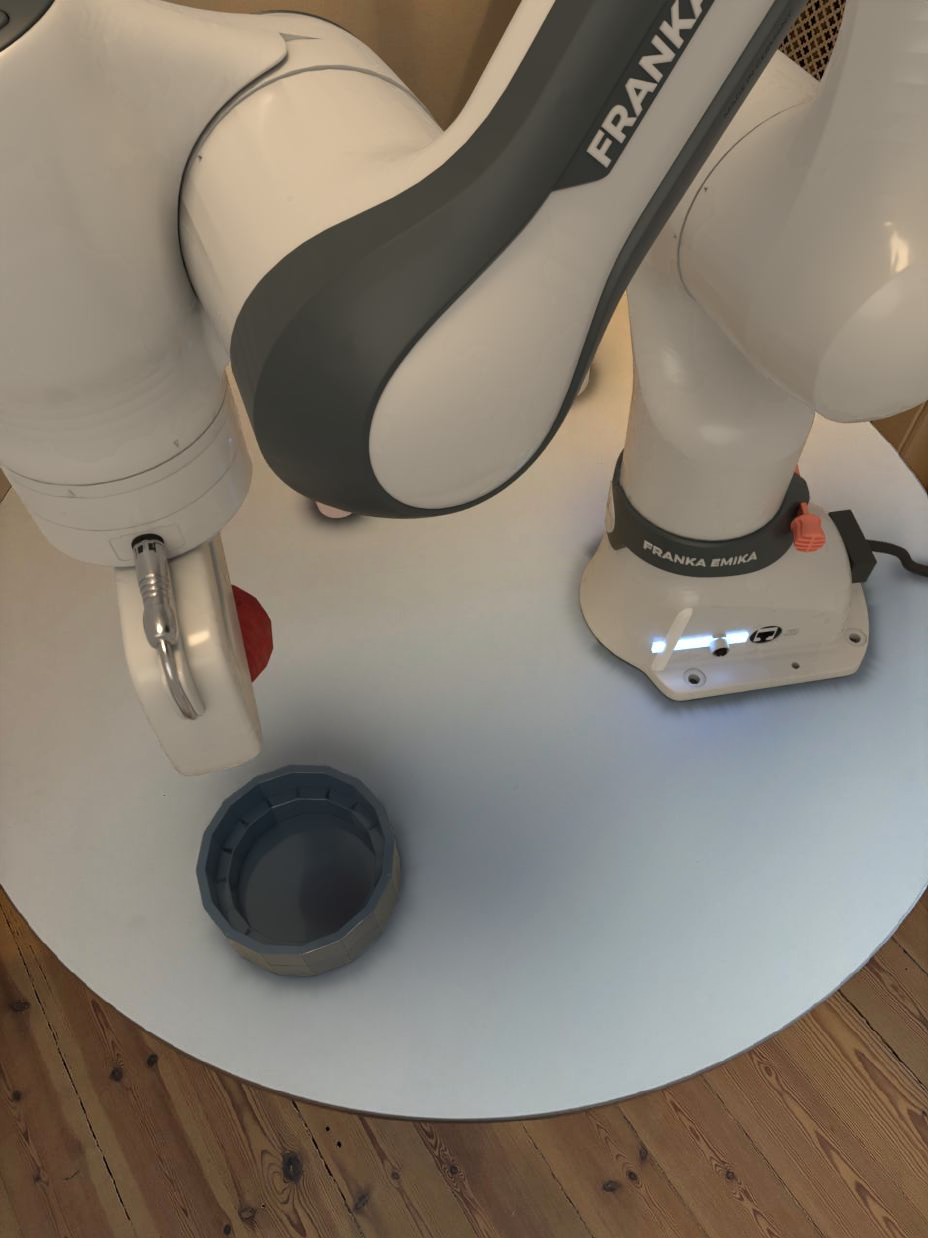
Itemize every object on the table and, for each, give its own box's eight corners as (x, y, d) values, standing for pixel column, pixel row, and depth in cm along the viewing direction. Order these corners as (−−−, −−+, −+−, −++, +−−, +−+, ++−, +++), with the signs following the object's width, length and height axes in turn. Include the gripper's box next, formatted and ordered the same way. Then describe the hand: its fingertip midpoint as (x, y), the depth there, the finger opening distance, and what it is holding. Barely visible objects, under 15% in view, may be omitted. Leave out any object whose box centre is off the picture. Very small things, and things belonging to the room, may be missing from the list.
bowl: (407, 800, 65) (400, 766, 60) (393, 981, 58) (384, 958, 53) (236, 795, 65) (217, 762, 61) (202, 974, 58) (178, 951, 54)
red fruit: (264, 733, 48) (228, 651, 41) (161, 714, 49) (110, 630, 42) (298, 641, 51) (270, 552, 44) (201, 625, 52) (159, 534, 45)
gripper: (258, 644, 31) (320, 807, 42) (179, 286, 42) (245, 492, 53) (66, 696, 30) (183, 848, 41) (37, 315, 41) (136, 518, 52)
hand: (218, 644), depth 47 cm, fingers closed on red fruit, 6 cm apart
